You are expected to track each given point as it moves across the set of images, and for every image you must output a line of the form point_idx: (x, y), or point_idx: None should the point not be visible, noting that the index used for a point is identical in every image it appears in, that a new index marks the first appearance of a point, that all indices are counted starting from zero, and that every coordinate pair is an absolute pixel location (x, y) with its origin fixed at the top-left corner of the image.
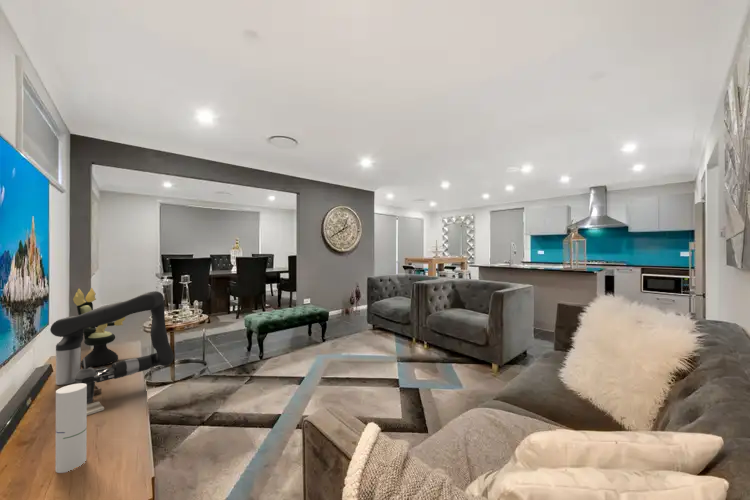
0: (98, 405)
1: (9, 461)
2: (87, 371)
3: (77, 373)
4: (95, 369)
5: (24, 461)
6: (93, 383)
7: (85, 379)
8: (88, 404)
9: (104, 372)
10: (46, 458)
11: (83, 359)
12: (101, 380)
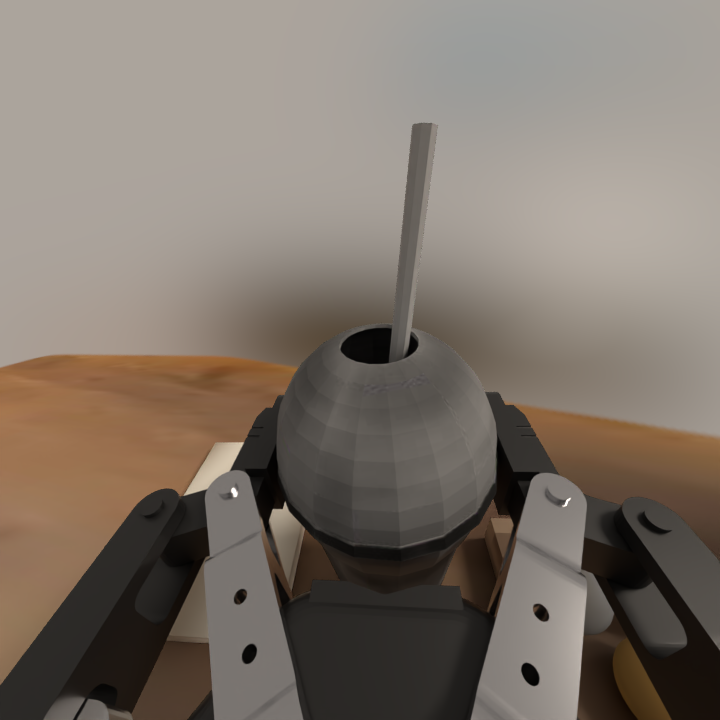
0: (187, 610)
1: (159, 357)
2: (296, 371)
3: (378, 338)
4: (679, 604)
5: (117, 370)
6: (326, 550)
7: (272, 416)
8: (283, 561)
9: (218, 673)
10: (61, 393)
11: (417, 164)
12: (152, 584)
